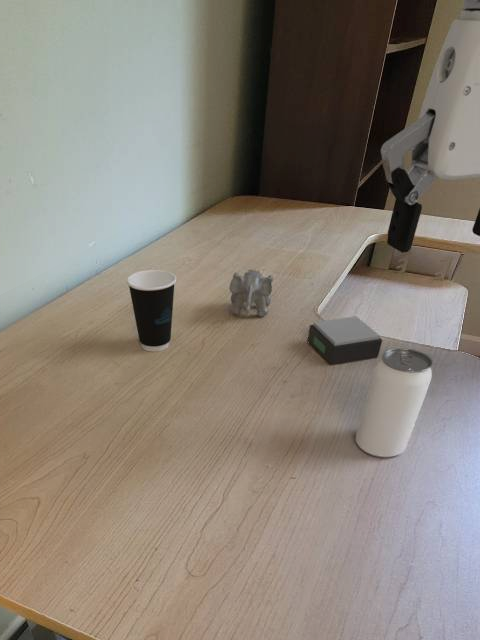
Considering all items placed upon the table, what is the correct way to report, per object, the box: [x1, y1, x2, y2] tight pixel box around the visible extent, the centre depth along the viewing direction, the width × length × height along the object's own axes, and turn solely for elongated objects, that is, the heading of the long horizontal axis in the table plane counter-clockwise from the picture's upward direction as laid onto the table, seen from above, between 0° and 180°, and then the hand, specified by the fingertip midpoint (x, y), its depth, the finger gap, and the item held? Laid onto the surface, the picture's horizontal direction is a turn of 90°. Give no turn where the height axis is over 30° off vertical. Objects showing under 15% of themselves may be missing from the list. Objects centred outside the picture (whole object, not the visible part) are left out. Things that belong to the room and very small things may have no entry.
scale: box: [307, 315, 383, 366], centre depth 86 cm, size 9×9×4 cm
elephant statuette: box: [229, 269, 274, 318], centre depth 94 cm, size 9×12×8 cm
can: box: [355, 347, 434, 459], centre depth 64 cm, size 6×6×12 cm
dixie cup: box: [126, 269, 177, 353], centre depth 86 cm, size 8×8×11 cm
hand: (441, 242), depth 51 cm, fingers open, 9 cm apart
